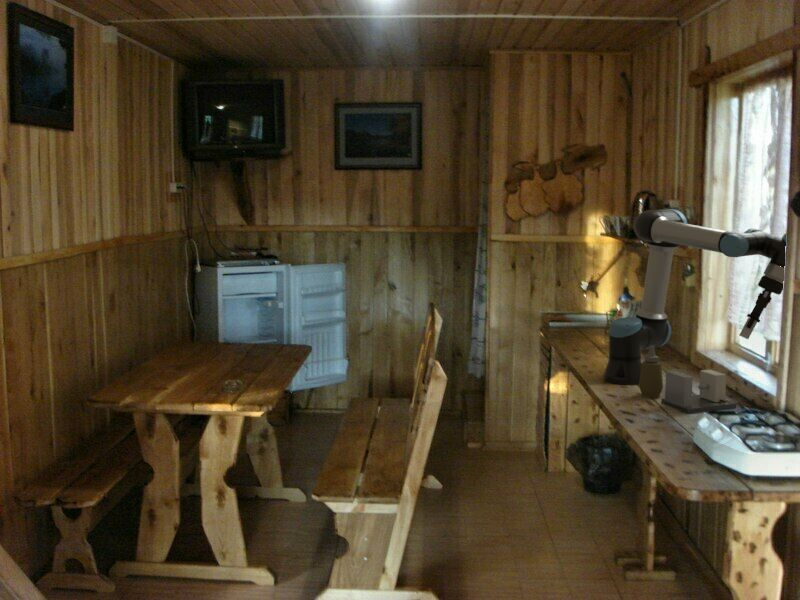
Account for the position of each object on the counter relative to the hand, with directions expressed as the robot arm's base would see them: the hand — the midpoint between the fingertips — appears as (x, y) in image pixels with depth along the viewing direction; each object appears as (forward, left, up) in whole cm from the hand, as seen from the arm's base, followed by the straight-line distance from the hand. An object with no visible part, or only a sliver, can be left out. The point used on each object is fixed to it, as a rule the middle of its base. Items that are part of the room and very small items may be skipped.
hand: (743, 337), depth 271 cm
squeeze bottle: (-20, -22, -23) cm, 37 cm away
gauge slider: (-3, -10, -21) cm, 23 cm away
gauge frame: (-4, -14, -23) cm, 27 cm away
